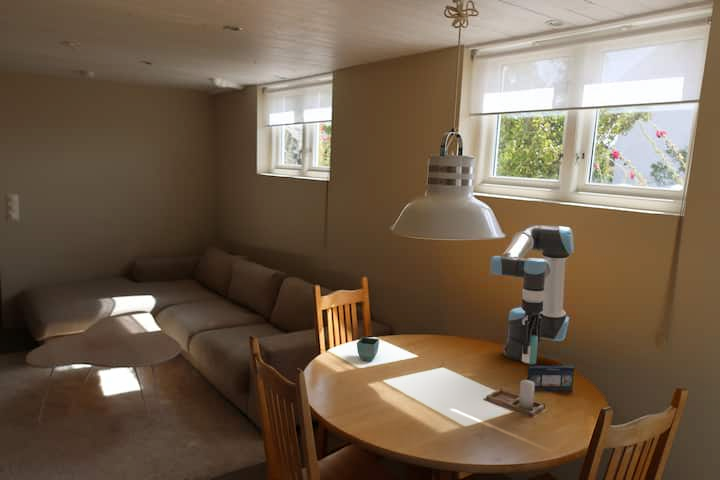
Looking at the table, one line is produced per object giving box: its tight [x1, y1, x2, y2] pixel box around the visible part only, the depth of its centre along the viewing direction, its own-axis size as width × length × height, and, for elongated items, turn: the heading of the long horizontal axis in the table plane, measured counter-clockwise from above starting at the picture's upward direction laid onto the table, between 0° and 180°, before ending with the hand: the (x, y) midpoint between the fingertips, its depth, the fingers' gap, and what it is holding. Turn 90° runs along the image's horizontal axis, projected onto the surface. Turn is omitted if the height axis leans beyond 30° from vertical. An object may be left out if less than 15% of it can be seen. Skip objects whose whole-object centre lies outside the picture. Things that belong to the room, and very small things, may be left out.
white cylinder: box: [519, 379, 535, 411], centre depth 193 cm, size 5×5×10 cm
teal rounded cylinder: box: [523, 334, 539, 365], centre depth 194 cm, size 5×5×10 cm
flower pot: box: [356, 336, 380, 362], centre depth 242 cm, size 9×9×9 cm
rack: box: [482, 388, 550, 420], centre depth 197 cm, size 12×21×2 cm, turn 44°
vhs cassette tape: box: [526, 365, 575, 392], centre depth 211 cm, size 18×3×10 cm, turn 89°
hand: (529, 359), depth 195 cm, fingers closed on teal rounded cylinder, 5 cm apart
